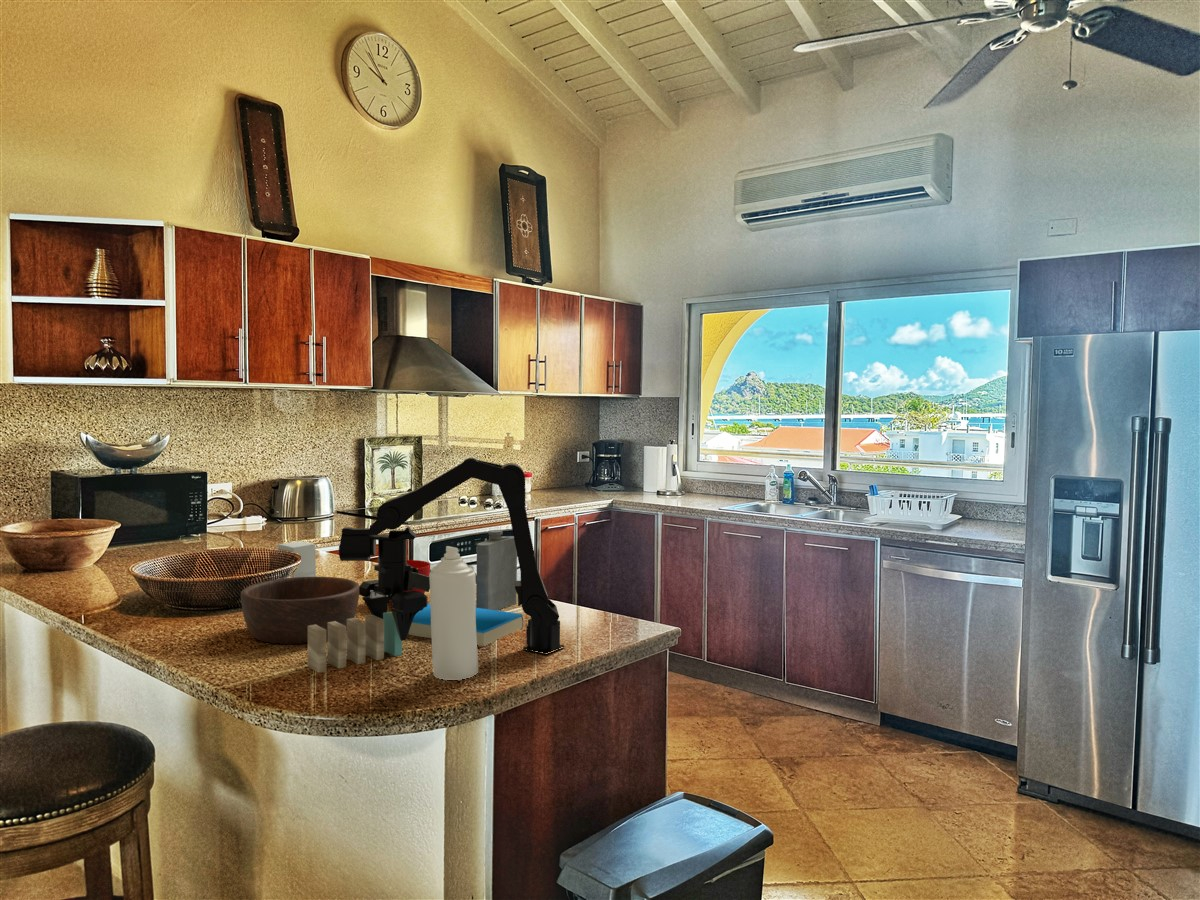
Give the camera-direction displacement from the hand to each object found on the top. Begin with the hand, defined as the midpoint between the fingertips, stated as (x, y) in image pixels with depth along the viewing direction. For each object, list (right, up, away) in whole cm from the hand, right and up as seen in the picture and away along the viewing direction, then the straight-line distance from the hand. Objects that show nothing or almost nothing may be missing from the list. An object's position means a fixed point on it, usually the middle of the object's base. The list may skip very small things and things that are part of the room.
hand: (392, 635), depth 167 cm
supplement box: (-41, -1, +58) cm, 71 cm away
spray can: (+15, -5, -14) cm, 21 cm away
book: (+10, -4, +18) cm, 21 cm away
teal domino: (0, -4, 0) cm, 4 cm away
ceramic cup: (-8, -2, +46) cm, 46 cm away
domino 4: (-3, -4, -2) cm, 5 cm away
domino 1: (-12, -4, -11) cm, 16 cm away
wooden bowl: (-24, -3, +15) cm, 28 cm away
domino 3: (-6, -4, -5) cm, 9 cm away
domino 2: (-9, -4, -8) cm, 13 cm away
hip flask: (+16, -2, +38) cm, 42 cm away
